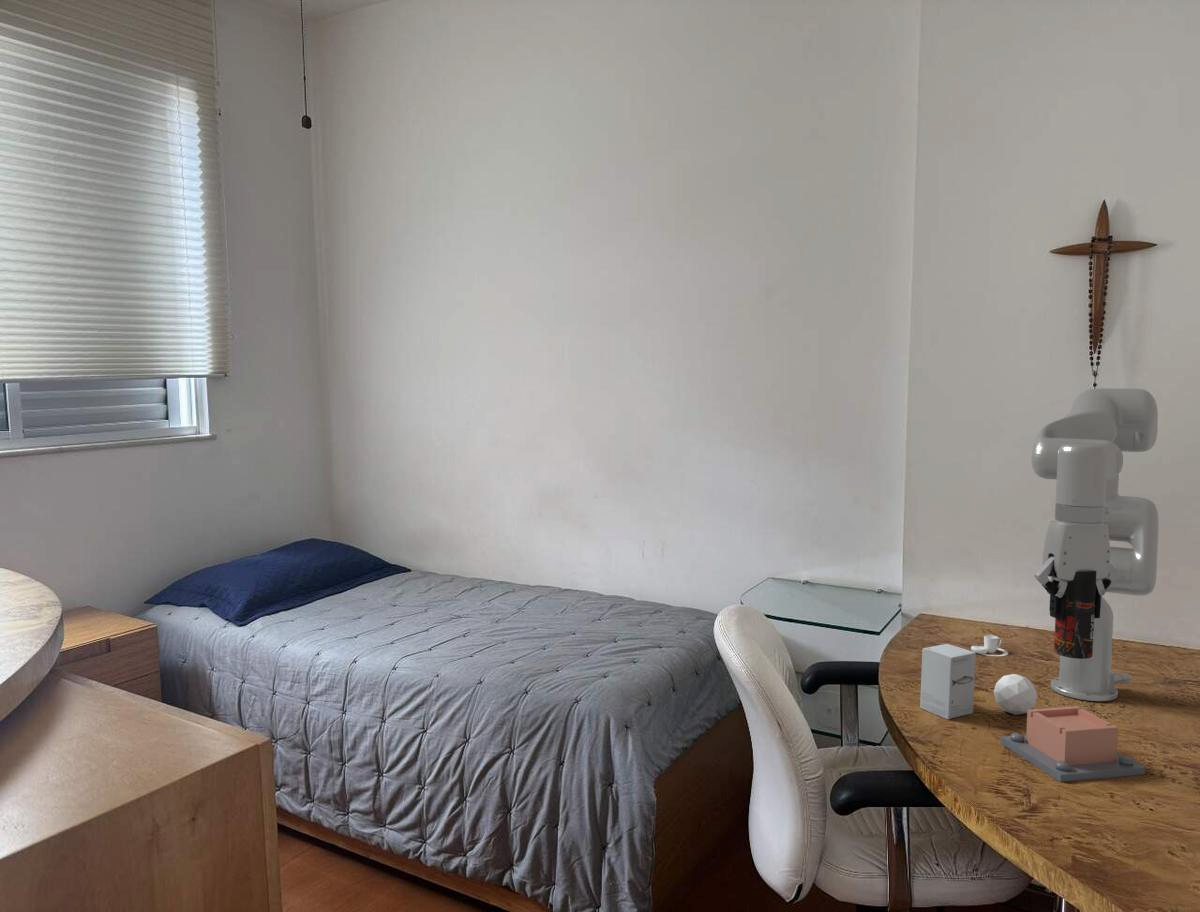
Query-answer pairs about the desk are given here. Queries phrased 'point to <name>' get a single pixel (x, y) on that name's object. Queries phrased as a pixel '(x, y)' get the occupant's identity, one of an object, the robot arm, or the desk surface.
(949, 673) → the supplement box
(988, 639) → the teacup and saucer
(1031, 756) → the tower base
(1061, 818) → the desk surface
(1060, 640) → the deodorant
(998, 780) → the desk surface
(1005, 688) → the geometric ball
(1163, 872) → the desk surface
